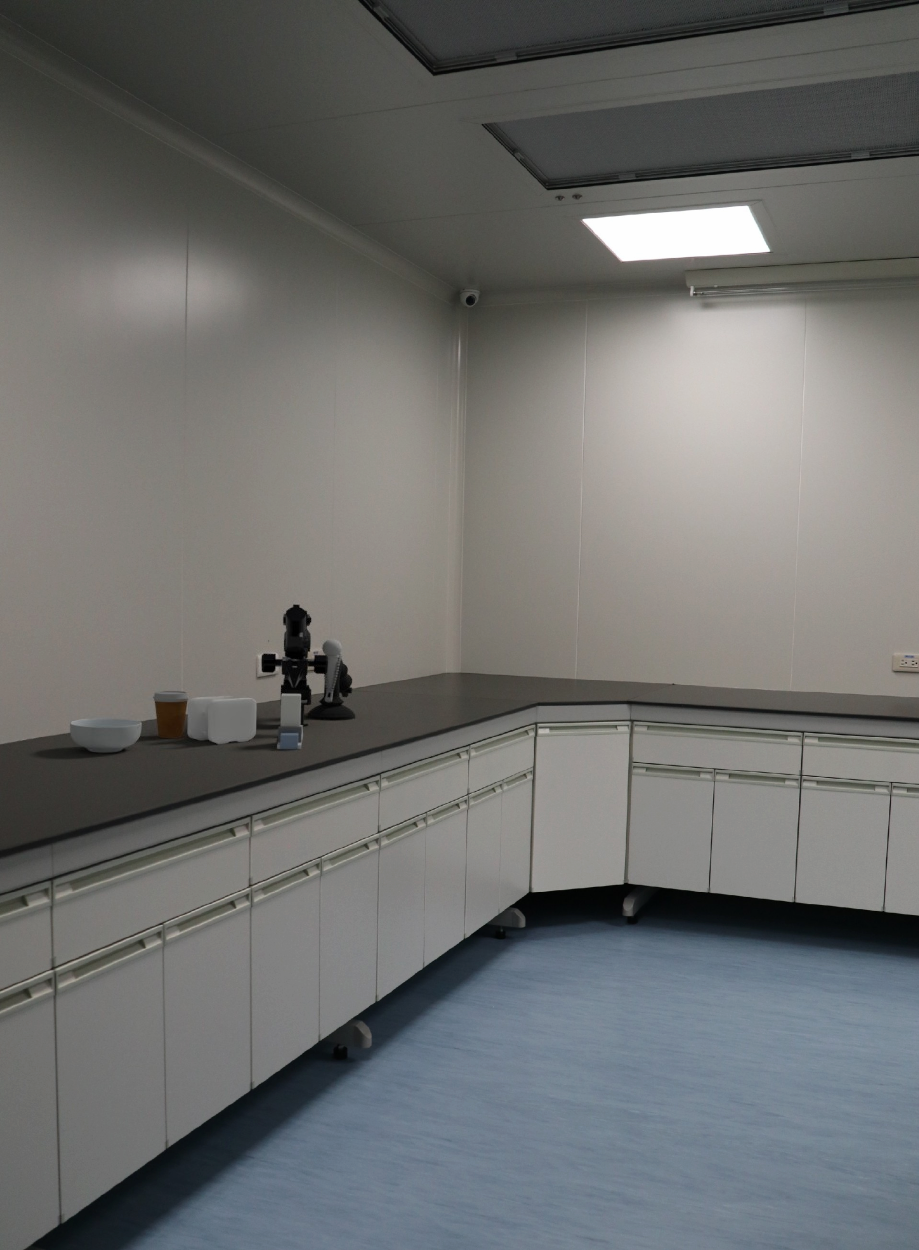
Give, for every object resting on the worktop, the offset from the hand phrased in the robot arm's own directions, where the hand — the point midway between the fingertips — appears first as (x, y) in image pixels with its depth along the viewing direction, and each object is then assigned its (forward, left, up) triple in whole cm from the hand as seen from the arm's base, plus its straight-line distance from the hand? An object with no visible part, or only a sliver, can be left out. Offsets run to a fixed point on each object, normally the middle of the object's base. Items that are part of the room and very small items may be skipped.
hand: (293, 686), depth 293 cm
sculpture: (-34, +29, -14) cm, 47 cm away
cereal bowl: (+7, -53, -14) cm, 55 cm away
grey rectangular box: (+15, -7, -12) cm, 21 cm away
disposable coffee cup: (-9, -32, -14) cm, 36 cm away
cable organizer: (+3, -22, -14) cm, 26 cm away
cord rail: (+12, -6, -13) cm, 19 cm away
